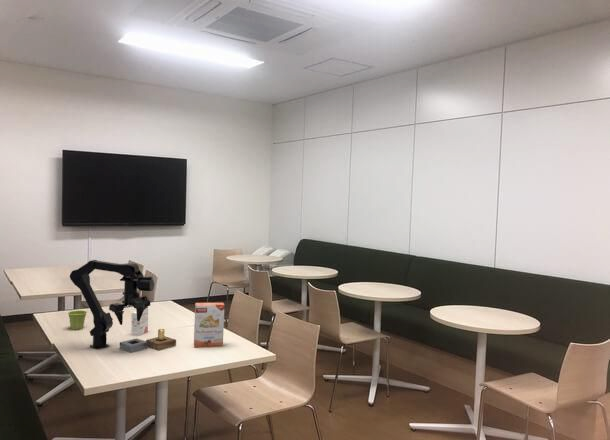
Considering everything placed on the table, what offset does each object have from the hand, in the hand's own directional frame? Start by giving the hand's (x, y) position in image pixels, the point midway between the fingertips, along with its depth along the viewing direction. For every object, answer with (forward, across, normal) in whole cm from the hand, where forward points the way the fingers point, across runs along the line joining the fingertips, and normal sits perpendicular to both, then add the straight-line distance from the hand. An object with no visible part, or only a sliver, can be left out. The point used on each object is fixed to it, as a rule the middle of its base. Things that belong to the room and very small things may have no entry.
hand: (129, 323), depth 223 cm
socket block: (+12, +1, -2) cm, 12 cm away
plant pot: (+12, +1, +49) cm, 51 cm away
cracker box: (+12, +28, -24) cm, 39 cm away
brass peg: (+12, +12, -8) cm, 19 cm away
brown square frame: (+12, +12, -8) cm, 19 cm away
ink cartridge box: (+12, +18, +18) cm, 28 cm away
